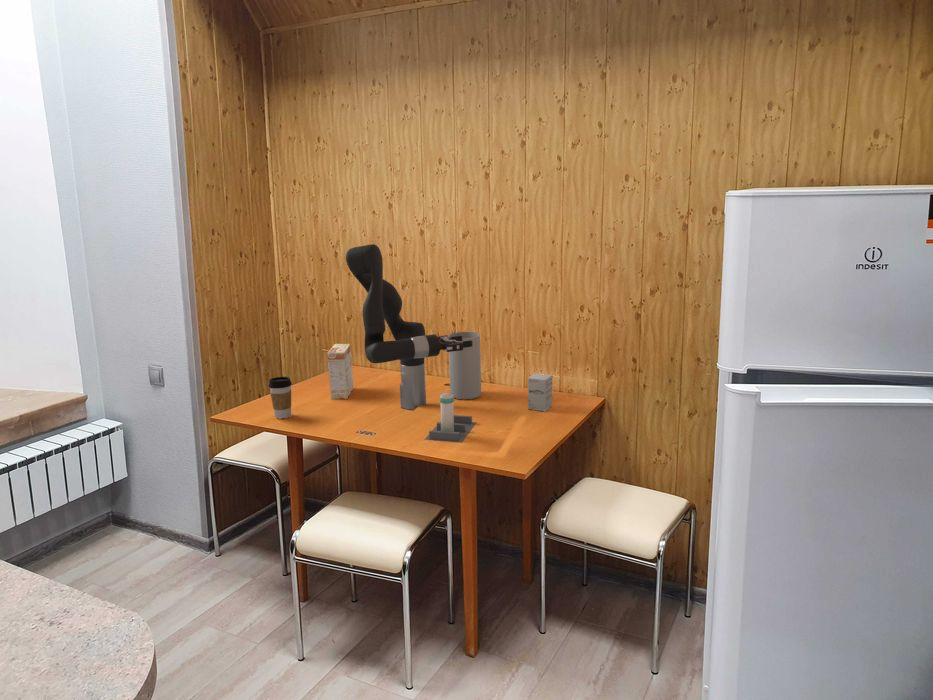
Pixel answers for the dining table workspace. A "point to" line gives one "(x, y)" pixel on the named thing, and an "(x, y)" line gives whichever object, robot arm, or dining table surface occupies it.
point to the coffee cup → (281, 396)
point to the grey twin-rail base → (460, 430)
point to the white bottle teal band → (447, 412)
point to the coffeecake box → (340, 371)
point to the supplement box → (540, 392)
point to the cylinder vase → (466, 368)
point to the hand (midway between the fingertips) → (466, 340)
